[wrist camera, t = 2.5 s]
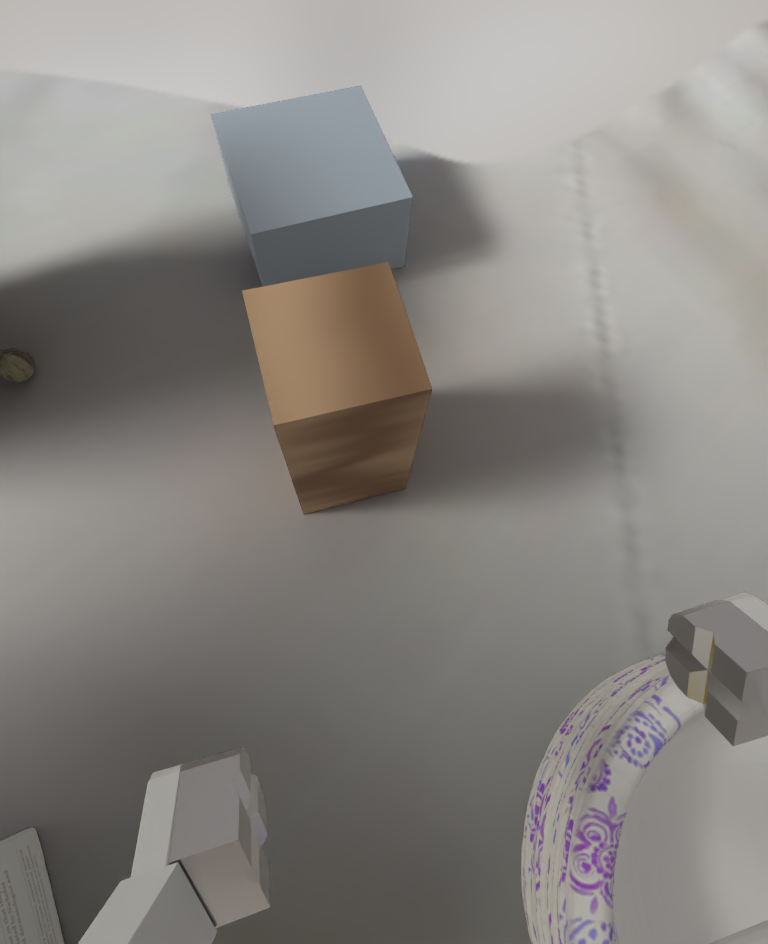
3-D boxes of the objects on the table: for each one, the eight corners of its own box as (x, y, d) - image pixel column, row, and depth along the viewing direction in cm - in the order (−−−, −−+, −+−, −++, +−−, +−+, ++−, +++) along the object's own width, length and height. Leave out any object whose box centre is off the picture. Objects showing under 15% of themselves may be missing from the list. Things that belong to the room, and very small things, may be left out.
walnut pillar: (303, 514, 26) (273, 425, 16) (281, 421, 27) (242, 290, 18) (405, 488, 26) (432, 388, 17) (377, 398, 28) (388, 261, 19)
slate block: (267, 302, 30) (250, 234, 25) (231, 195, 32) (210, 114, 28) (404, 268, 31) (412, 196, 26) (360, 167, 34) (360, 85, 29)
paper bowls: (956, 1010, 20) (1301, 1207, 13) (588, 1186, 18) (748, 1542, 11) (754, 610, 25) (922, 585, 18) (444, 712, 23) (487, 733, 16)
